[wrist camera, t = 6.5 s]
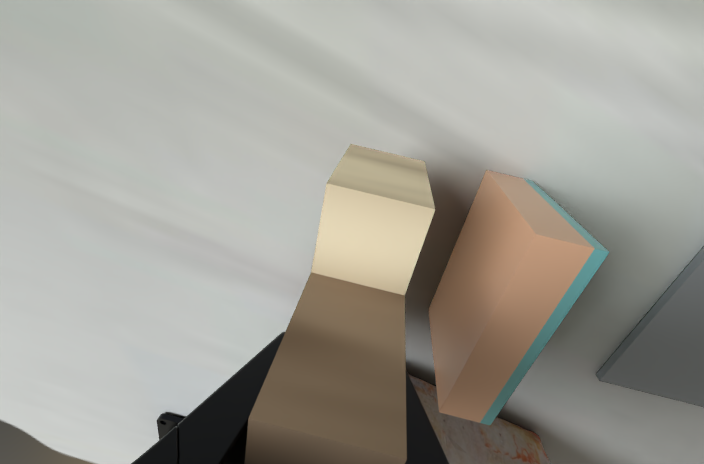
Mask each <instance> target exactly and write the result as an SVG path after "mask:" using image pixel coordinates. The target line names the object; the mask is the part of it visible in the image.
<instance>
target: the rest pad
mask: <svg viewBox="0 0 704 464" xmlns="http://www.w3.org/2000/svg"><path fill="white" fill-rule="evenodd" d="M596 376H597V377H598V379H599V381H603V382H607V383H611V384H615V385H619V386H623V387H627V388H630V389H634V390H638V391H642V392H646V393H650V394H654V395H658V396H662V397H666V398H670V399H674V400H678V401H682V402H686V403H690V404H694V405H698V406H701V407H704V247H703V248H702V249H701V250H700V251H699V253H698V254H697V255H696V256H695V257H694V259H693V260H692V261H691V262H690V263H689V264H688V266H687V267H686V268H685V269H684V270H683V272H682V273H681V274H680V275H679V276H678V278H677V279H676V280H675V281H674V282H673V283H672V285H671V286H670V287H669V288H668V289H667V291H666V292H665V293H664V294H663V295H662V296H661V298H660V299H659V300H658V301H657V302H656V304H655V305H654V306H653V307H652V308H651V310H650V311H649V312H648V313H647V314H646V315H645V317H644V318H643V319H642V320H641V321H640V323H639V324H638V325H637V326H636V327H635V329H634V330H633V331H632V332H631V333H630V334H629V336H628V337H627V338H626V339H625V340H624V342H623V343H622V344H621V345H620V346H619V348H618V349H617V350H616V351H615V352H614V353H613V355H612V356H611V357H610V358H609V359H608V361H607V362H606V363H605V364H604V365H603V367H602V368H601V369H600V370H599V371H598V372H597V374H596Z"/></svg>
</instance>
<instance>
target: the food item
mask: <svg viewBox="0 0 704 464" xmlns="http://www.w3.org/2000/svg"><path fill="white" fill-rule="evenodd" d="M409 376H410V379H411V381H412V383H413V385H414V387H415V389H416V392H417V394H418V396H419V398H420V400H421V403H422V405H423V407H424V409H425V411H426V414H427V416H428V418H429V420H430V422H431V424H432V427H433V429H434V431H435V433H436V435H437V438H438V440H439V442H440V444H441V446H442V449H443V451H444V453H445V455H446V457H447V460H448V462H449V464H550V462H549V459H548V457H547V455H546V453H545V451H544V449H543V446H542V443H541V440H540V437H539V436H538V435H537V434H536V433H534V432H532V431H529V430H526V429H524V428H521V427H519V426H517V425H515V424H513V423H510V422H507V421H505V420H503V419H501V418H499V417H496V418H495V419H494V421H493V422H492V424H491V425H486V424H482V423H479V422H475V421H471V420H467V419H463V418H459V417H455V416H452V415H448V414H444V413H440V412H439V407H438V397H437V388H436V387H435V386H433V385H431V384H429V383H427V382H425V381H423V380H421V379H419V378H416V377H413V376H411V375H409Z"/></svg>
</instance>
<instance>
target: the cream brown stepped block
mask: <svg viewBox="0 0 704 464" xmlns="http://www.w3.org/2000/svg"><path fill="white" fill-rule="evenodd" d="M434 212H435V206H434V201H433V197H432V192H431V188H430V183H429V179H428V175H427V170H426V166H425V161H420V160H416V159H412V158H408V157H404V156H399V155H395V154H391V153H387V152H382V151H378V150H374V149H370V148H366V147H361V146H357V145H353V144H351V145H350V146H349V148H348V149H347V151H346V153H345V154H344V156H343V157H342V159H341V161H340V162H339V164H338V166H337V167H336V169H335V170H334V172H333V174H332V175H331V177H330V179H329V180H328V182H327V184H326V190H325V196H324V201H323V207H322V213H321V219H320V224H319V230H318V236H317V242H316V247H315V253H314V259H313V265H312V270H311V274H310V276H309V279H308V281H307V283H306V286H305V288H304V290H303V293H302V295H301V297H300V300H299V302H298V304H297V307H296V309H295V311H294V314H293V316H292V318H291V321H290V323H289V325H288V327H287V330H286V332H285V334H284V337H283V339H282V341H281V344H280V346H279V348H278V351H277V353H276V355H275V358H274V360H273V362H272V365H271V367H270V369H269V372H268V374H267V376H266V379H265V381H264V383H263V386H262V388H261V390H260V393H259V395H258V397H257V400H256V402H255V404H254V407H253V409H252V411H251V414H250V416H249V419H248V431H247V442H246V454H245V464H405V462H406V460H407V433H406V354H405V293H406V291H407V288H408V285H409V282H410V279H411V277H412V274H413V271H414V268H415V265H416V262H417V260H418V257H419V254H420V251H421V248H422V246H423V243H424V240H425V237H426V234H427V232H428V229H429V226H430V223H431V220H432V217H433V215H434Z"/></svg>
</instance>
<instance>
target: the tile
mask: <svg viewBox="0 0 704 464" xmlns="http://www.w3.org/2000/svg"><path fill="white" fill-rule="evenodd" d="M608 254H609V251H608V250H607V249H606V248H605V247H603V246H602V245H601V244H600V243H599V242H598V241H597V240H596V239H595V238H594V237H593V236H592V235H590V234H589V233H588V232H587V231H586V230H585V229H584V228H583V227H582V226H581V225H580V224H579V223H577V222H576V221H575V220H574V219H573V218H572V217H571V216H570V215H569V214H568V213H567V212H566V211H564V210H563V209H562V208H561V207H560V206H559V205H558V204H557V203H556V202H555V201H554V200H553V199H551V198H550V197H549V196H548V195H547V194H546V193H545V192H544V191H543V190H542V189H541V188H540V187H538V186H537V185H536V184H535V183H534V182H533V181H531V180H526V179H522V178H518V177H514V176H510V175H506V174H501V173H497V172H493V171H489V170H486V172H485V175H484V177H483V179H482V182H481V184H480V187H479V189H478V191H477V194H476V196H475V199H474V201H473V203H472V206H471V208H470V211H469V213H468V215H467V218H466V220H465V223H464V225H463V227H462V230H461V232H460V235H459V237H458V239H457V242H456V244H455V247H454V249H453V251H452V254H451V256H450V259H449V261H448V263H447V266H446V268H445V271H444V273H443V275H442V278H441V280H440V283H439V285H438V287H437V290H436V292H435V295H434V297H433V300H432V302H431V304H430V307H429V309H428V311H429V321H430V330H431V340H432V350H433V359H434V369H435V378H436V388H437V397H438V407H439V412H440V413H444V414H448V415H452V416H455V417H459V418H463V419H467V420H471V421H475V422H479V423H482V424H486V425H491V424H492V422H493V421H494V419H495V418H496V416H497V415H498V413H499V412H500V410H501V409H502V408H503V406H504V405H505V403H506V402H507V400H508V399H509V397H510V396H511V395H512V393H513V392H514V390H515V389H516V387H517V386H518V384H519V383H520V381H521V380H522V379H523V377H524V376H525V374H526V373H527V371H528V370H529V368H530V367H531V365H532V364H533V363H534V361H535V360H536V358H537V357H538V355H539V354H540V352H541V351H542V349H543V348H544V347H545V345H546V344H547V342H548V341H549V339H550V338H551V336H552V335H553V334H554V332H555V331H556V329H557V328H558V326H559V325H560V323H561V322H562V320H563V319H564V318H565V316H566V315H567V313H568V312H569V310H570V309H571V307H572V306H573V304H574V303H575V302H576V300H577V299H578V297H579V296H580V294H581V293H582V291H583V290H584V288H585V287H586V286H587V284H588V283H589V281H590V280H591V278H592V277H593V275H594V274H595V273H596V271H597V270H598V268H599V267H600V265H601V264H602V262H603V261H604V259H605V258H606V257H607V255H608Z"/></svg>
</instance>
